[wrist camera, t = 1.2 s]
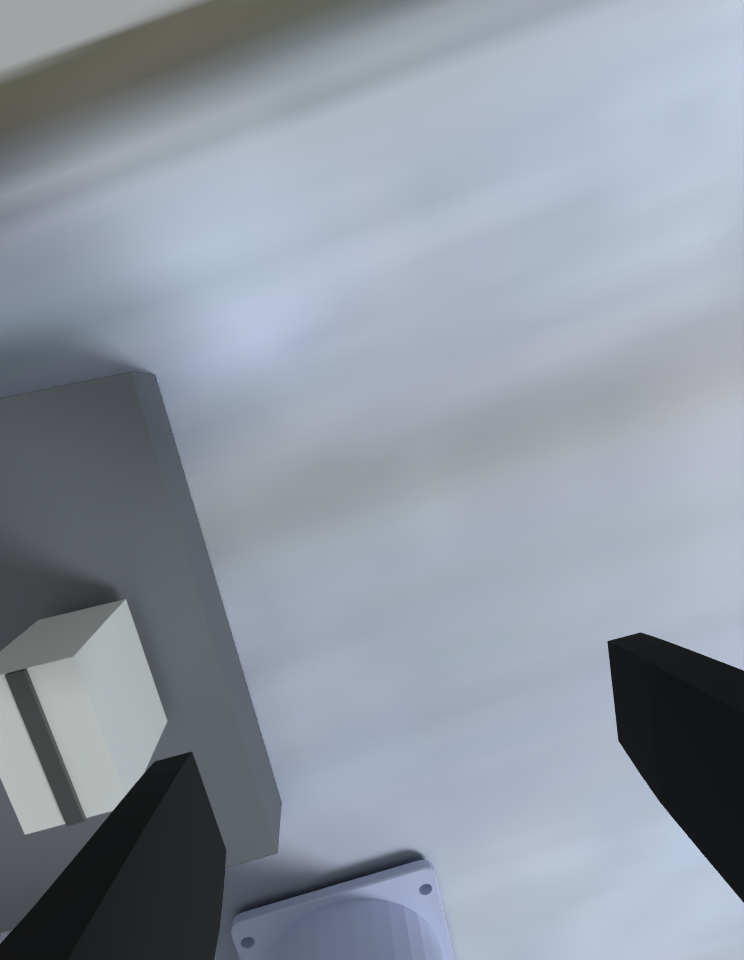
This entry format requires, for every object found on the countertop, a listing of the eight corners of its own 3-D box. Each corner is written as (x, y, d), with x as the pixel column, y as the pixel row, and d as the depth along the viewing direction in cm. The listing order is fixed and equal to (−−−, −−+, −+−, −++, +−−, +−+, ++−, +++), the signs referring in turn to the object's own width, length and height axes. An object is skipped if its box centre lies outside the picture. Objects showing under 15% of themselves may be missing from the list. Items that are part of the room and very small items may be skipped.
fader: (167, 721, 14) (127, 810, 11) (85, 742, 14) (22, 839, 11) (126, 599, 13) (70, 659, 10) (38, 620, 13) (-44, 687, 10)
